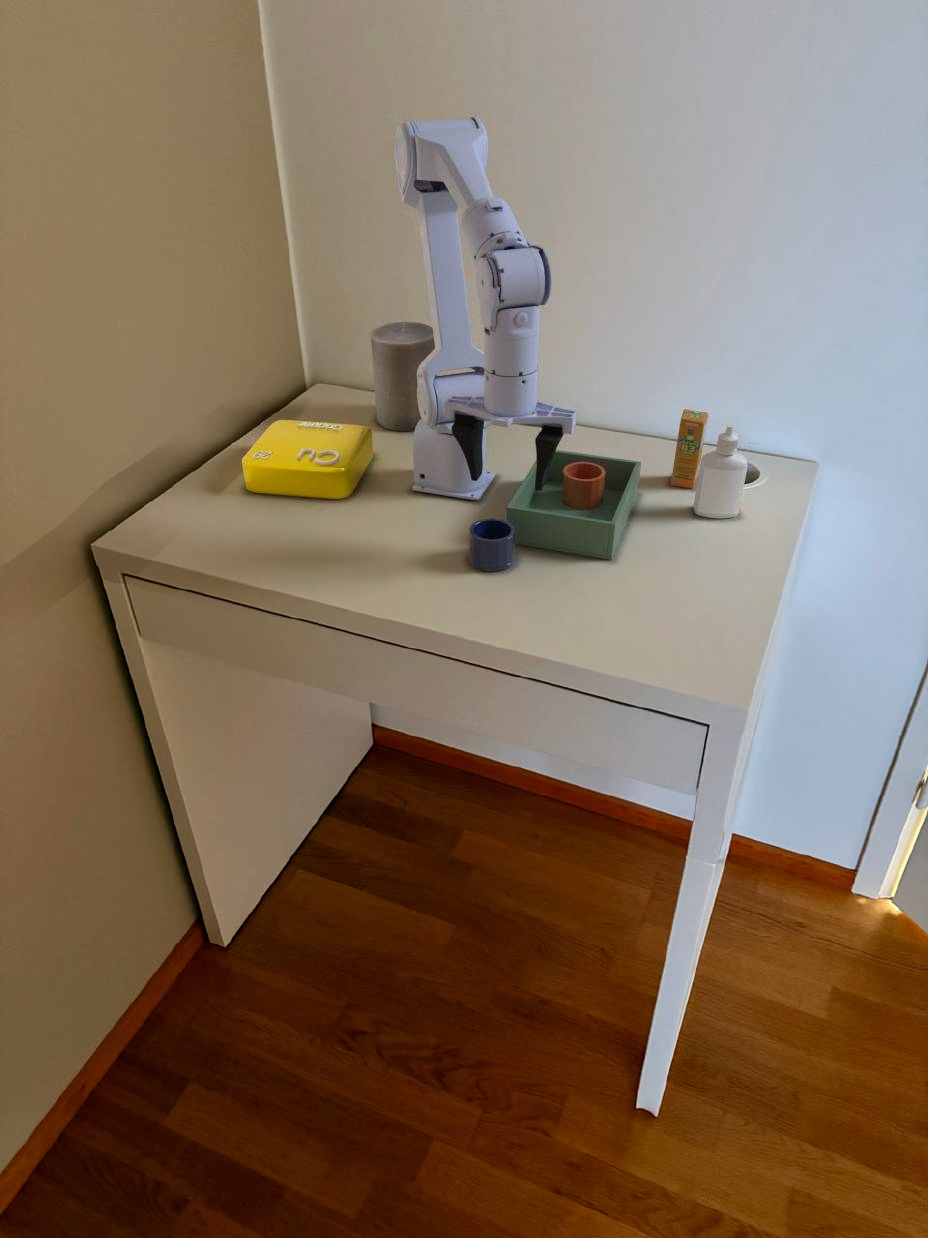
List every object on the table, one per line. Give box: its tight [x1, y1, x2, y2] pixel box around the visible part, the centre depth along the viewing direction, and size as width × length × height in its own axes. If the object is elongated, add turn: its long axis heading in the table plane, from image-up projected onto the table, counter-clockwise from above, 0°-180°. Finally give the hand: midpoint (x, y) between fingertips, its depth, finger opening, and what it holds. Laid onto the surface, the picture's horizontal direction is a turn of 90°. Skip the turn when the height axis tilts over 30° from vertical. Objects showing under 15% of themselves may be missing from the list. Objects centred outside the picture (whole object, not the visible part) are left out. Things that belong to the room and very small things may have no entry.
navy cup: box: [468, 517, 516, 573], centre depth 108 cm, size 5×5×4 cm
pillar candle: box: [369, 321, 438, 432], centre depth 139 cm, size 10×10×15 cm
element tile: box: [241, 419, 374, 500], centre depth 127 cm, size 15×15×5 cm
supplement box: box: [670, 408, 709, 489], centre depth 122 cm, size 3×3×10 cm
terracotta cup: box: [562, 462, 606, 510], centre depth 119 cm, size 5×5×4 cm
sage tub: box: [505, 449, 642, 561], centre depth 116 cm, size 13×17×5 cm
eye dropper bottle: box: [693, 424, 748, 519], centre depth 115 cm, size 4×6×12 cm
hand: (508, 481), depth 106 cm, fingers open, 7 cm apart
